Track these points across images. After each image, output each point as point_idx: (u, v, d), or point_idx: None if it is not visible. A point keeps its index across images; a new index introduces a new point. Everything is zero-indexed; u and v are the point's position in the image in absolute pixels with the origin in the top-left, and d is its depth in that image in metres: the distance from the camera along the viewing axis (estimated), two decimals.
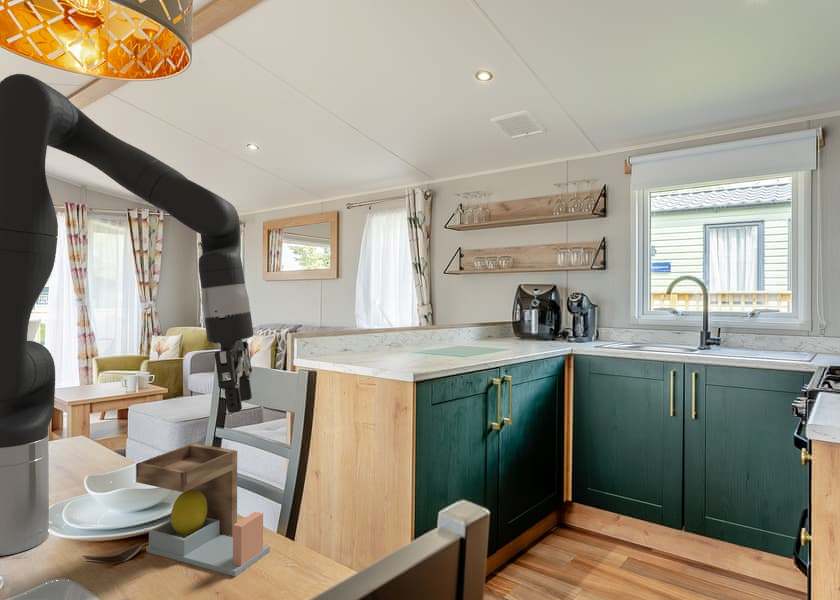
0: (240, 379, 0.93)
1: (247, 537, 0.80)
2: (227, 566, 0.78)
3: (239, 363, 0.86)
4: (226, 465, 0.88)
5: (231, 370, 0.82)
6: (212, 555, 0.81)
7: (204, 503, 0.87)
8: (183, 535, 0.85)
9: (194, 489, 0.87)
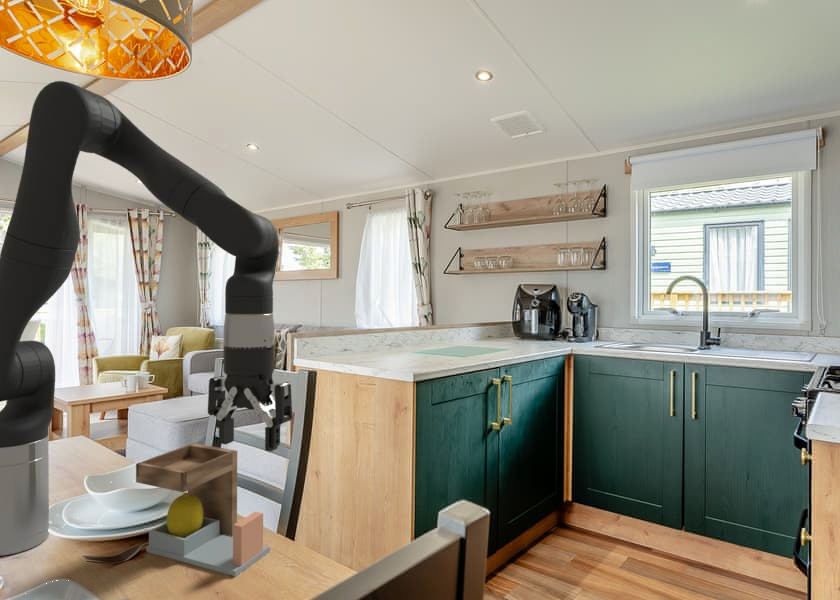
0: (226, 419, 0.82)
1: (247, 537, 0.80)
2: (227, 566, 0.78)
3: (271, 397, 0.81)
4: (226, 465, 0.88)
5: (291, 403, 0.79)
6: (212, 555, 0.81)
7: (199, 508, 0.85)
8: None
9: (186, 495, 0.85)
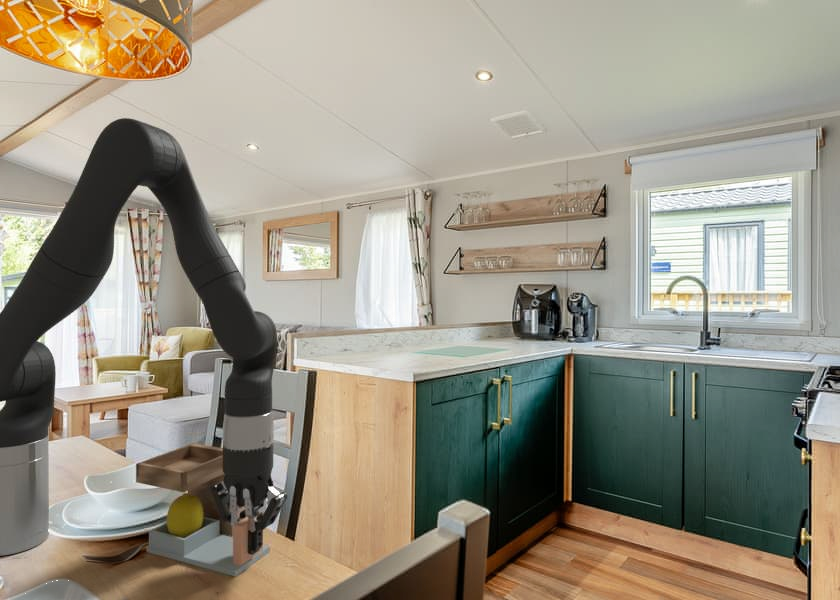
0: None
1: (247, 537, 0.80)
2: (227, 566, 0.78)
3: None
4: None
5: None
6: (212, 555, 0.81)
7: (198, 509, 0.85)
8: None
9: (186, 496, 0.85)
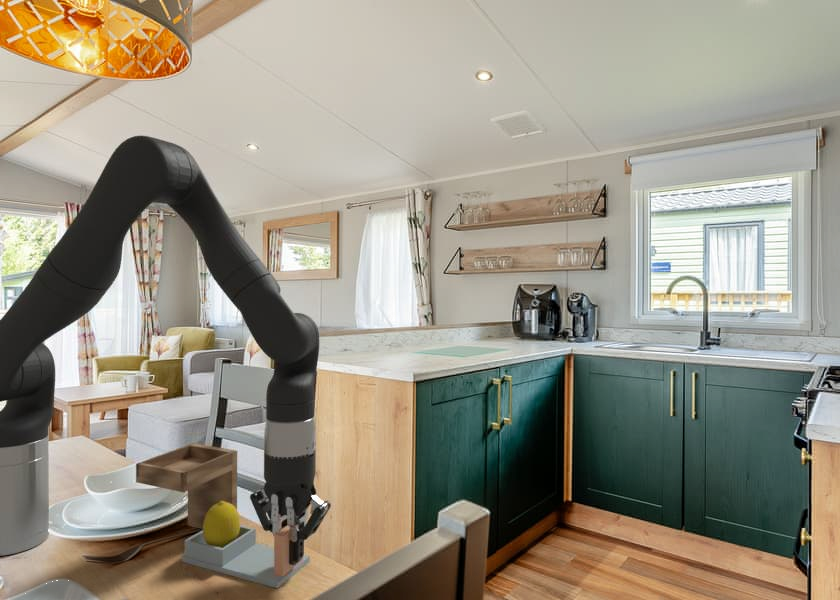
0: None
1: (288, 547, 0.77)
2: (268, 577, 0.75)
3: None
4: (226, 465, 0.88)
5: (321, 521, 0.77)
6: (251, 565, 0.79)
7: (235, 517, 0.82)
8: None
9: (223, 503, 0.82)
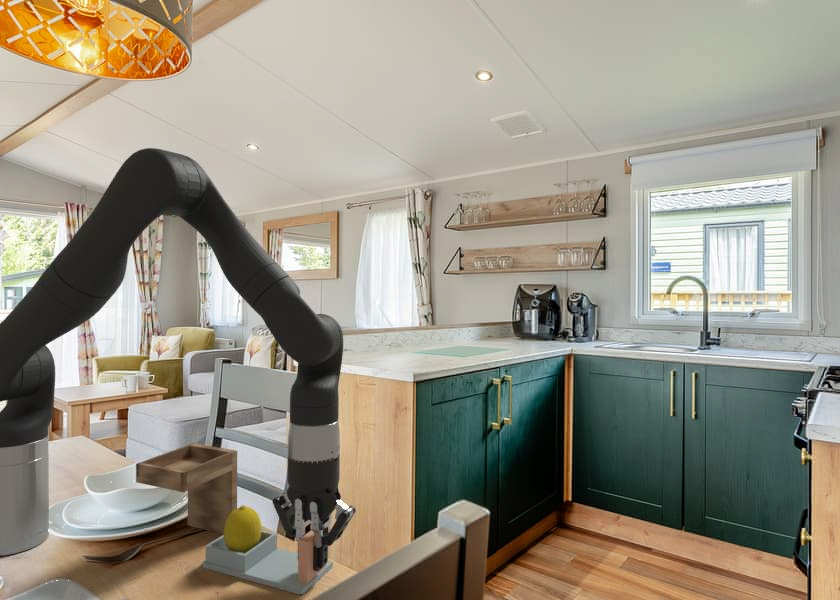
0: None
1: None
2: (292, 584, 0.74)
3: None
4: (226, 465, 0.88)
5: (346, 526, 0.76)
6: (274, 571, 0.77)
7: (257, 522, 0.81)
8: None
9: (244, 508, 0.81)
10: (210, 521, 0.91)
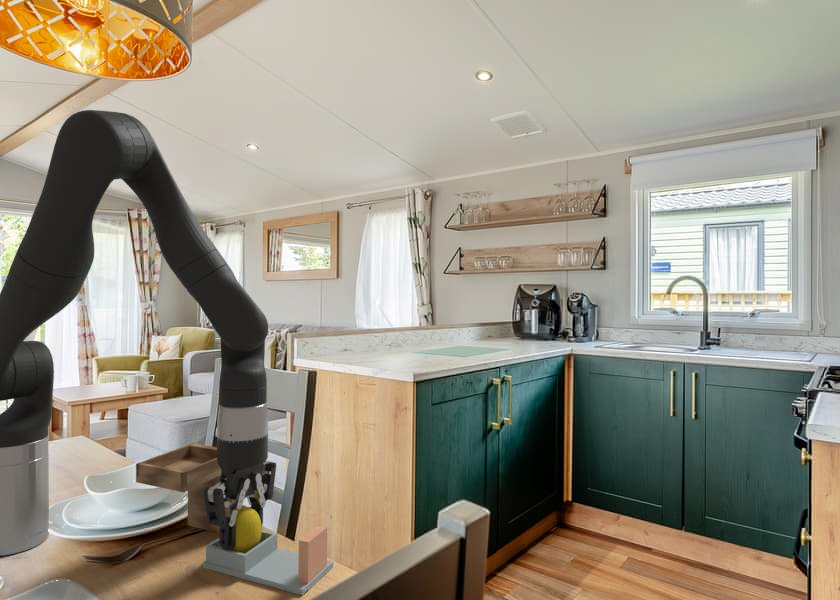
0: None
1: (313, 553, 0.75)
2: (293, 584, 0.74)
3: None
4: None
5: None
6: (274, 571, 0.77)
7: (257, 522, 0.81)
8: None
9: (244, 508, 0.81)
10: None
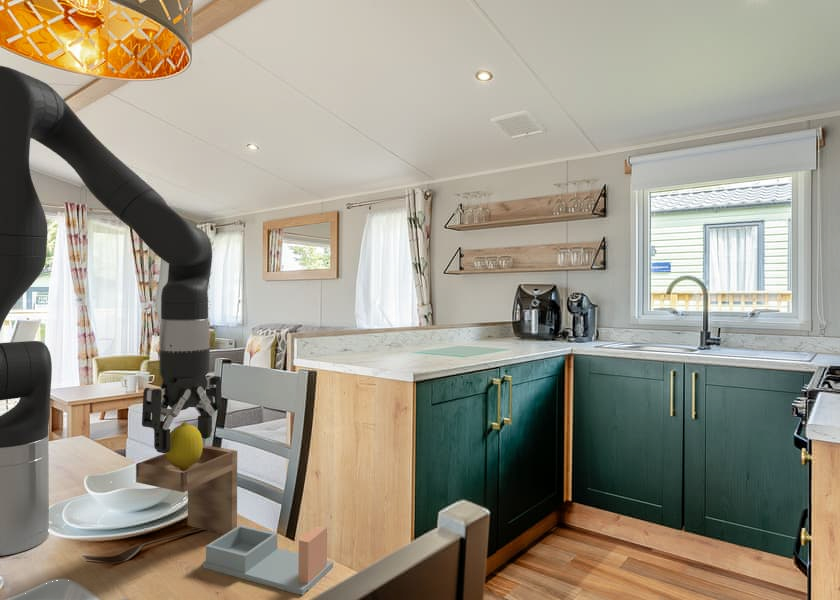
0: None
1: (313, 553, 0.75)
2: (293, 584, 0.74)
3: None
4: (226, 465, 0.88)
5: None
6: (274, 571, 0.77)
7: (198, 438, 0.85)
8: (181, 468, 0.85)
9: (185, 424, 0.85)
10: (210, 521, 0.91)
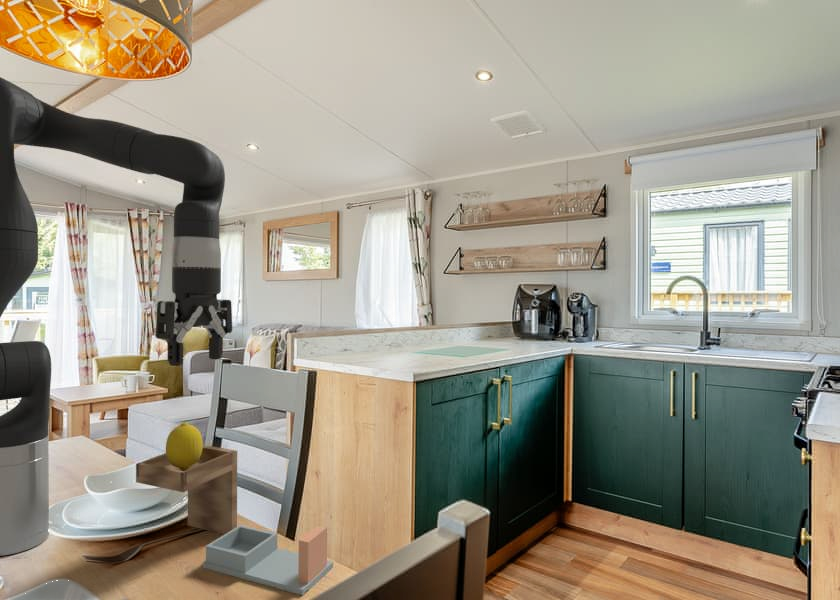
0: None
1: (313, 553, 0.75)
2: (293, 584, 0.74)
3: None
4: (226, 465, 0.88)
5: None
6: (274, 571, 0.77)
7: (197, 438, 0.85)
8: (181, 468, 0.85)
9: (185, 424, 0.85)
10: (210, 521, 0.91)
